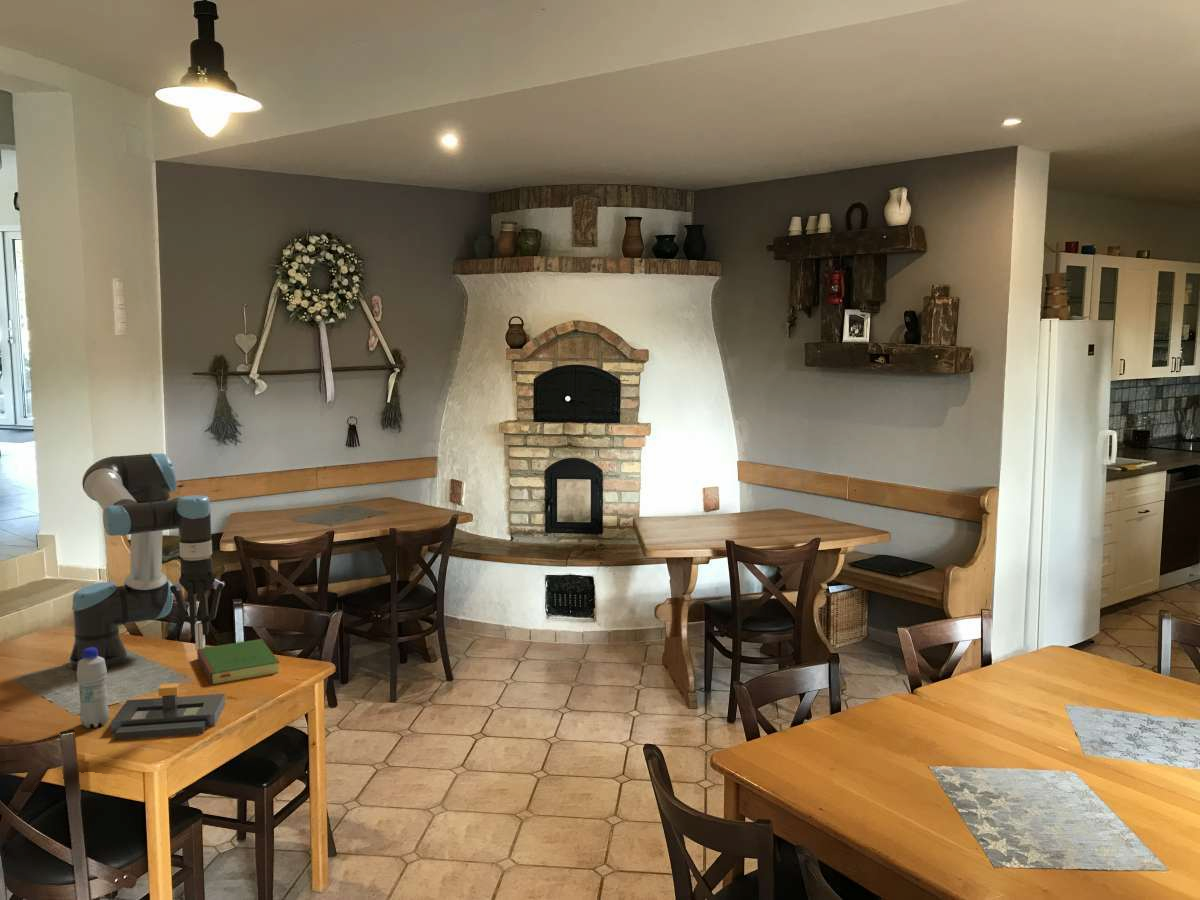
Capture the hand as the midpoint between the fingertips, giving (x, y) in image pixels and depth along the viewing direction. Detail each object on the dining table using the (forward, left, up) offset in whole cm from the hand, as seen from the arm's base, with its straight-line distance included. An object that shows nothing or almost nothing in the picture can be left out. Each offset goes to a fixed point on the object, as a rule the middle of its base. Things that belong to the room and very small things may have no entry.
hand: (200, 647), depth 240 cm
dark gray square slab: (0, -8, -18) cm, 20 cm away
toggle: (0, -8, -17) cm, 18 cm away
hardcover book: (-37, +2, -19) cm, 42 cm away
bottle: (0, -26, -19) cm, 32 cm away
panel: (0, -8, -18) cm, 20 cm away
